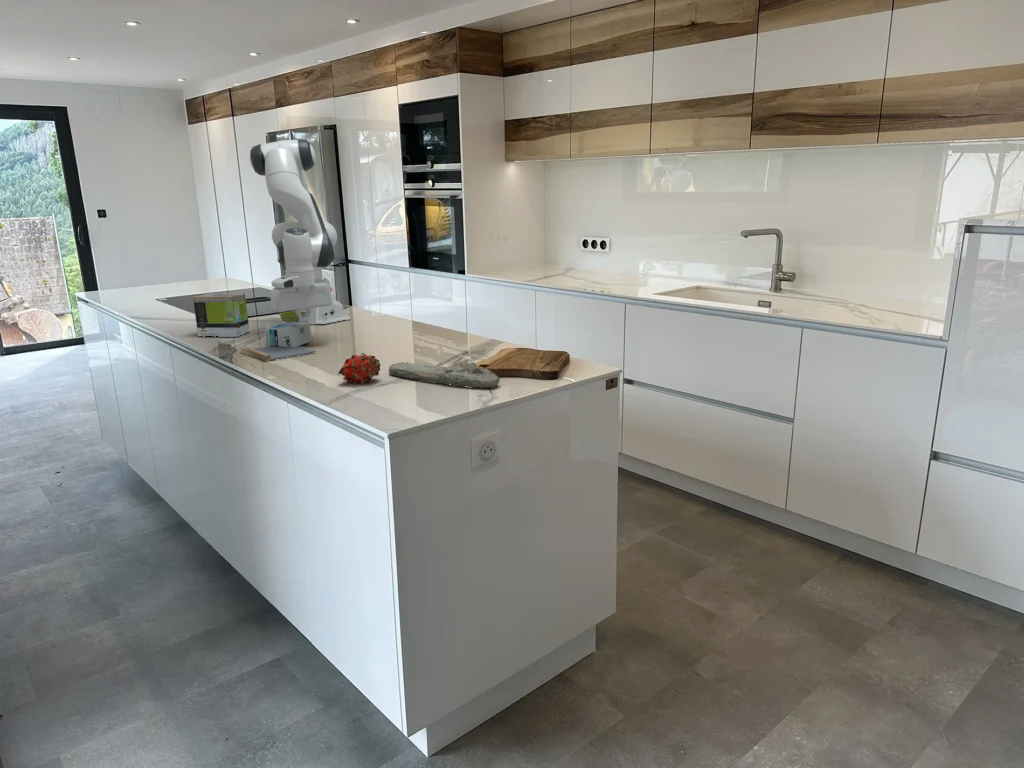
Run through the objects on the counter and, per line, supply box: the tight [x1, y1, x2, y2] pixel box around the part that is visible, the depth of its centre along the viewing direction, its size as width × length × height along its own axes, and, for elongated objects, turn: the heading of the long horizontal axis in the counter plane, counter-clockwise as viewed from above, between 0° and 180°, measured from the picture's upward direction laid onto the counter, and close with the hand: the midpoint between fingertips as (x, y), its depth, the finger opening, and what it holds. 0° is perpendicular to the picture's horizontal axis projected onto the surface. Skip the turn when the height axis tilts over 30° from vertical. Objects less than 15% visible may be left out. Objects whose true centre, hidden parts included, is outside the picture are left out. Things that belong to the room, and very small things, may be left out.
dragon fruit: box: [337, 352, 382, 385], centre depth 188 cm, size 8×8×12 cm
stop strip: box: [240, 346, 271, 362], centre depth 218 cm, size 2×18×2 cm, turn 45°
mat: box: [253, 345, 317, 361], centre depth 224 cm, size 15×18×1 cm
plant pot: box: [278, 310, 306, 322], centre depth 246 cm, size 9×9×9 cm
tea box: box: [192, 292, 250, 338], centre depth 250 cm, size 15×10×15 cm
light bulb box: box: [264, 320, 312, 348], centre depth 233 cm, size 11×7×11 cm
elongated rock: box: [388, 361, 500, 389], centre depth 190 cm, size 35×5×10 cm
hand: (304, 322), depth 228 cm, fingers closed
